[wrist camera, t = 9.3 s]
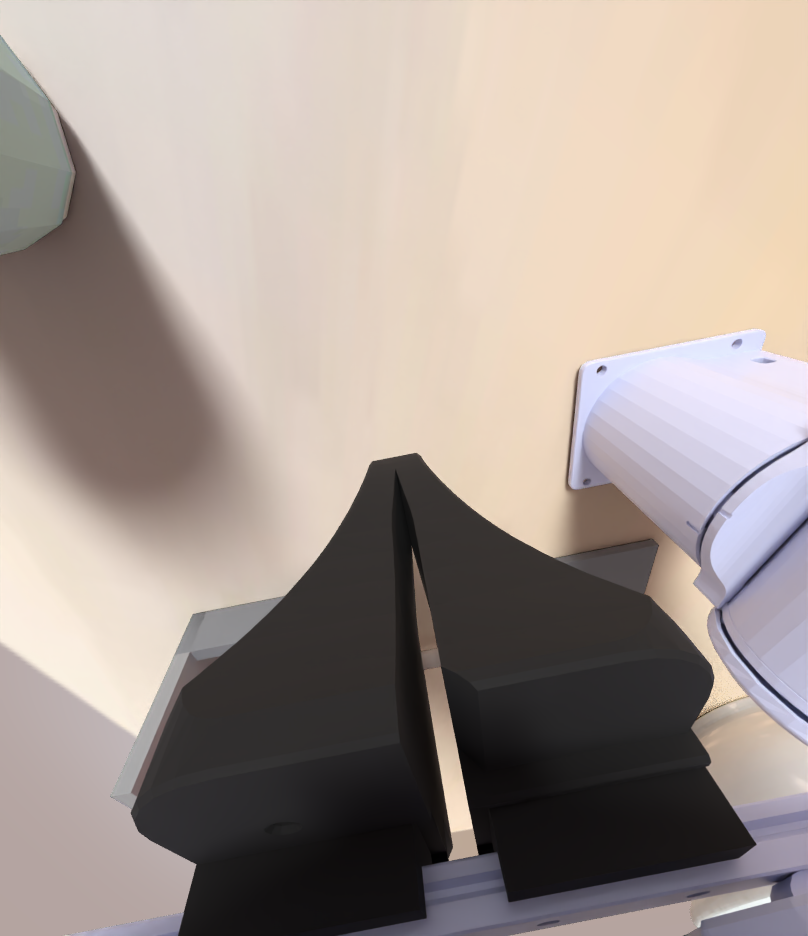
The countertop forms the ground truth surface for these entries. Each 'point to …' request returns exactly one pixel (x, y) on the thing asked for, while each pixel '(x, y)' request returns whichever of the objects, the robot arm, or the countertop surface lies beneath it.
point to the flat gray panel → (618, 563)
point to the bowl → (748, 777)
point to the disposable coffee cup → (29, 159)
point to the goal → (186, 681)
